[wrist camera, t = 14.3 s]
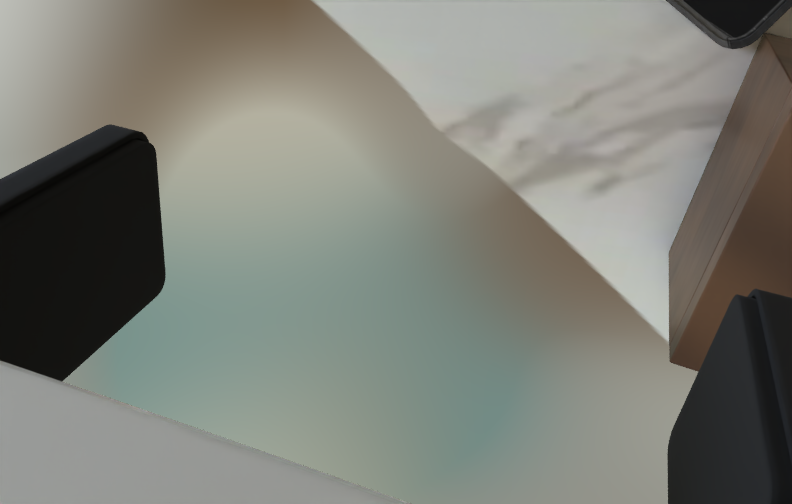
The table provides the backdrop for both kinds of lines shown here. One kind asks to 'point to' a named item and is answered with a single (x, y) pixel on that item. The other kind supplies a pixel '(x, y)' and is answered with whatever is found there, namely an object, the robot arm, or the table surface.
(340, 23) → the table surface
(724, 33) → the phone
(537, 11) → the table surface
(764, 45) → the desk shelf
